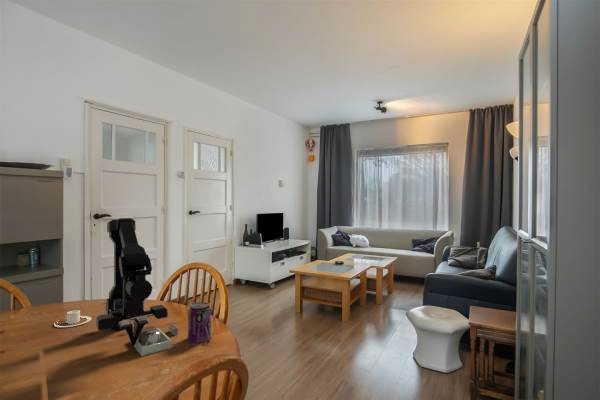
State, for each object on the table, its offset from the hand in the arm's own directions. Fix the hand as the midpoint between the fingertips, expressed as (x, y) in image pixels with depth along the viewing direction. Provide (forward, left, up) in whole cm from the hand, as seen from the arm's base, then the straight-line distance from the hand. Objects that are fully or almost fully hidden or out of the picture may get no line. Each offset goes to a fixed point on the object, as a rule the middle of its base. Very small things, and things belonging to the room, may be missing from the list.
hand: (132, 345), depth 97 cm
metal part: (+2, +5, -1) cm, 6 cm away
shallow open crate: (0, +5, -2) cm, 6 cm away
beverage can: (+5, +19, -3) cm, 20 cm away
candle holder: (-43, -11, -3) cm, 45 cm away
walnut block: (-4, +5, -1) cm, 6 cm away
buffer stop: (-5, +14, -2) cm, 15 cm away
